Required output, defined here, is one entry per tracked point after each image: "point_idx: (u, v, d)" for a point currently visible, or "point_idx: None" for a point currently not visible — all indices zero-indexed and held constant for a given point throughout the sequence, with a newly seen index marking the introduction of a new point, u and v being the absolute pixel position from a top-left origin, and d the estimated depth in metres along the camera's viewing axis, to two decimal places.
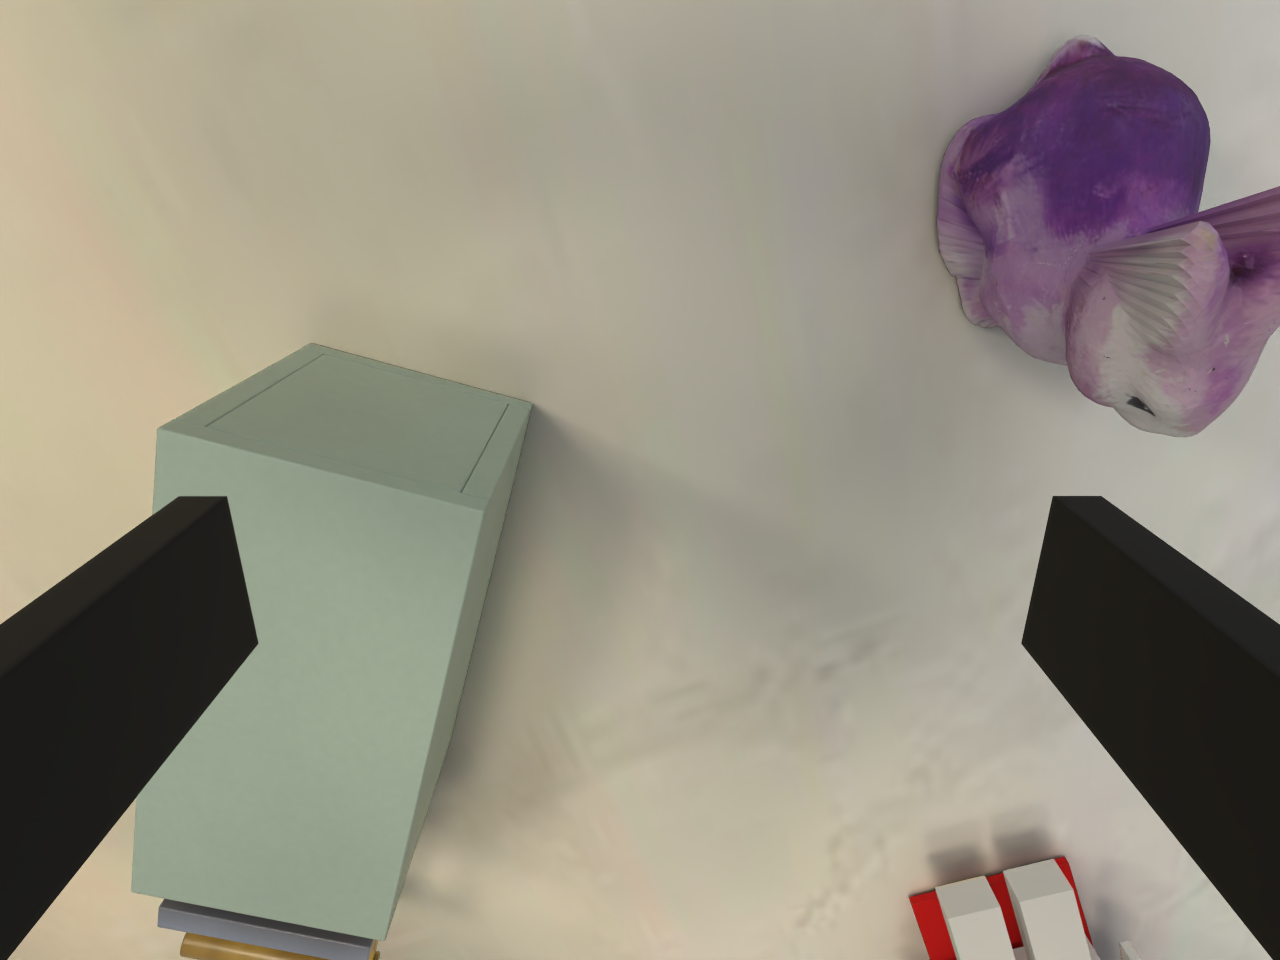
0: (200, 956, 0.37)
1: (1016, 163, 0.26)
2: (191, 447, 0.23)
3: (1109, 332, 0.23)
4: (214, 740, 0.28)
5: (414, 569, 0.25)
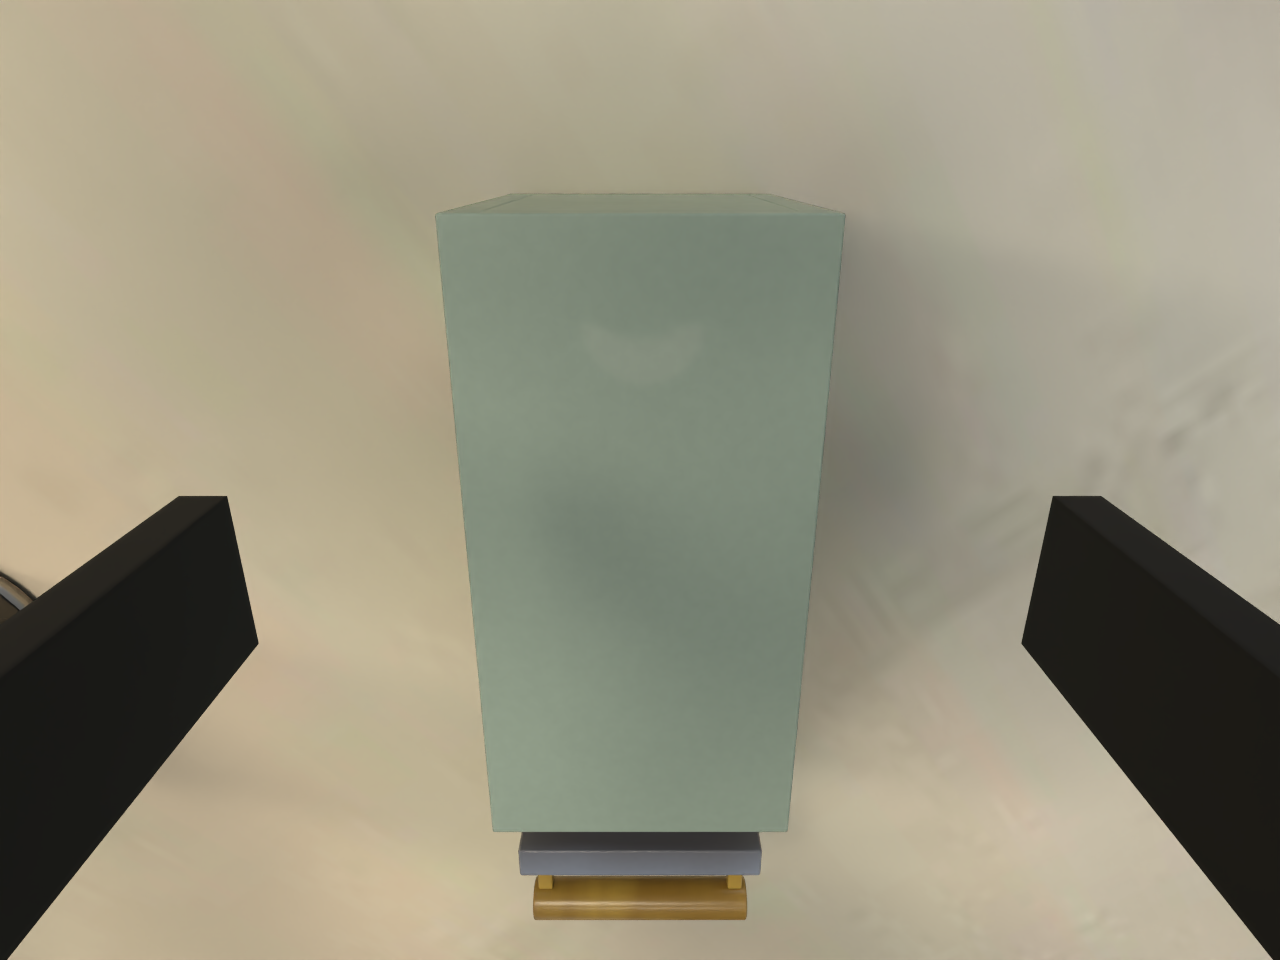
0: (556, 915, 0.33)
1: None
2: (479, 227, 0.19)
3: None
4: (559, 617, 0.23)
5: (767, 321, 0.20)
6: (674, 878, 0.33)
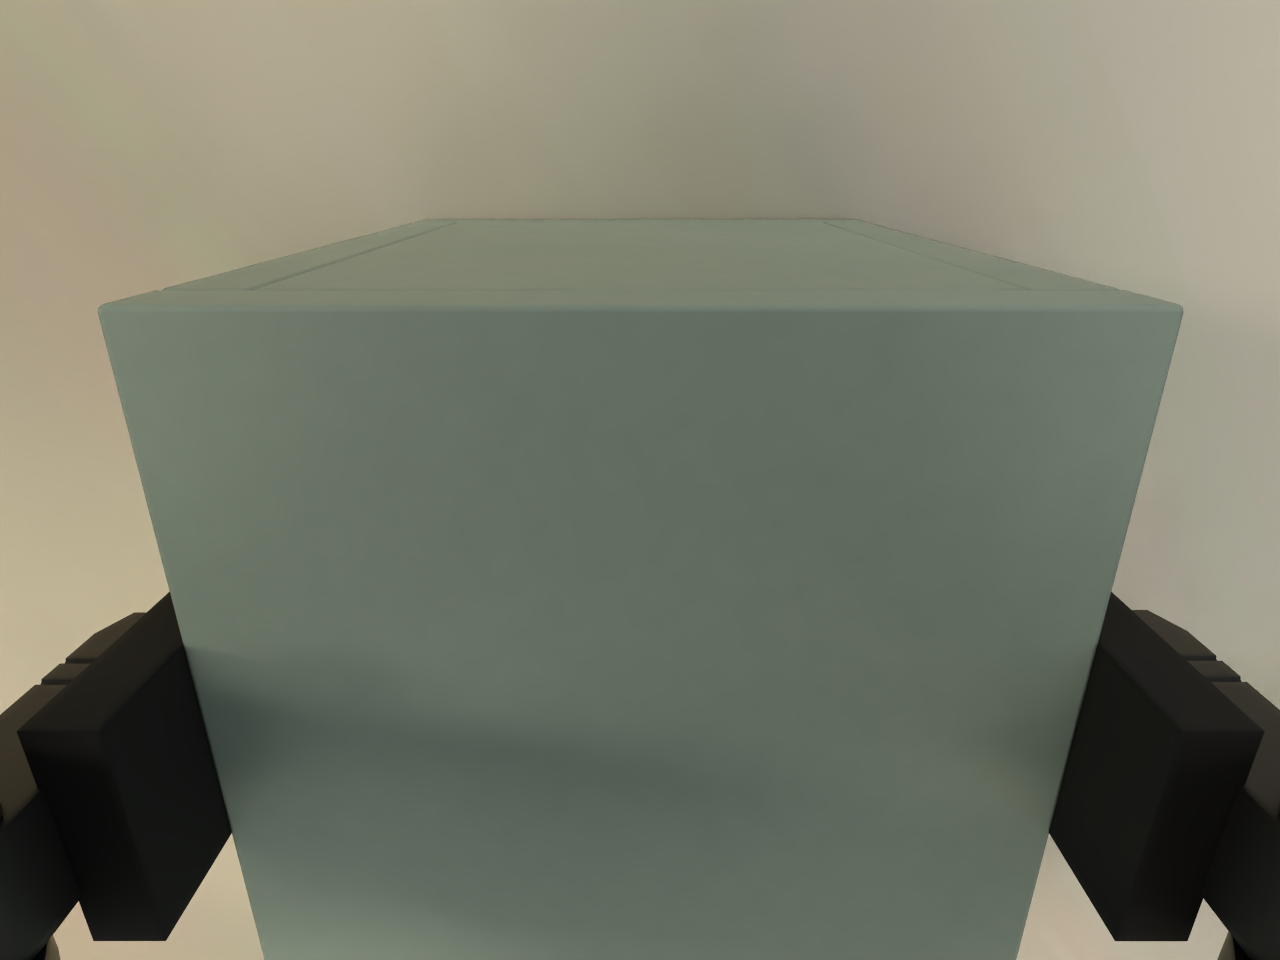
0: None
1: None
2: (215, 342, 0.07)
3: None
4: None
5: (953, 558, 0.08)
6: None
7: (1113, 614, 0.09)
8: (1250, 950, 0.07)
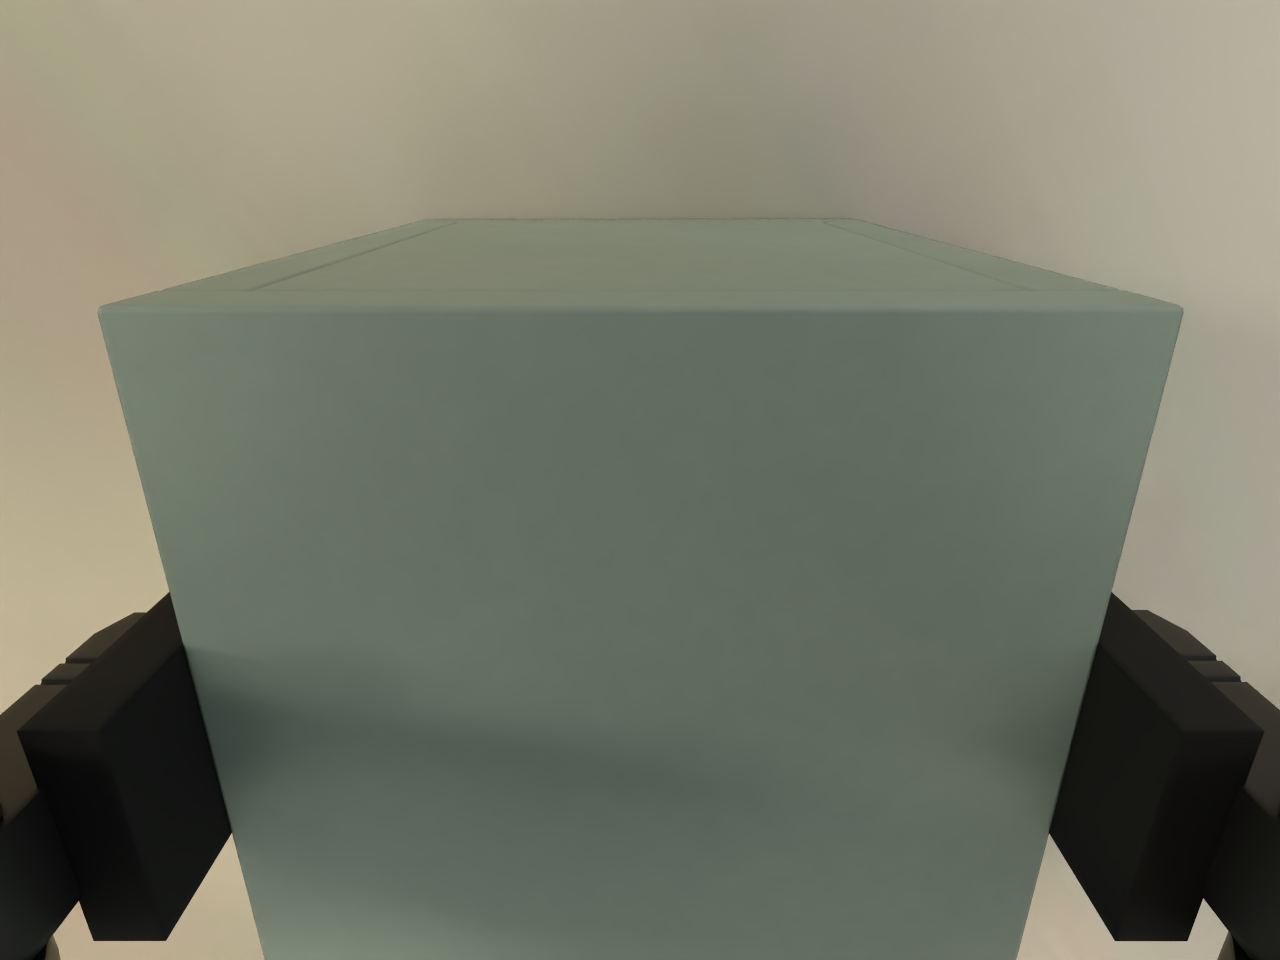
0: None
1: None
2: (215, 343, 0.07)
3: None
4: None
5: (952, 559, 0.08)
6: None
7: (1113, 614, 0.09)
8: (1251, 950, 0.07)
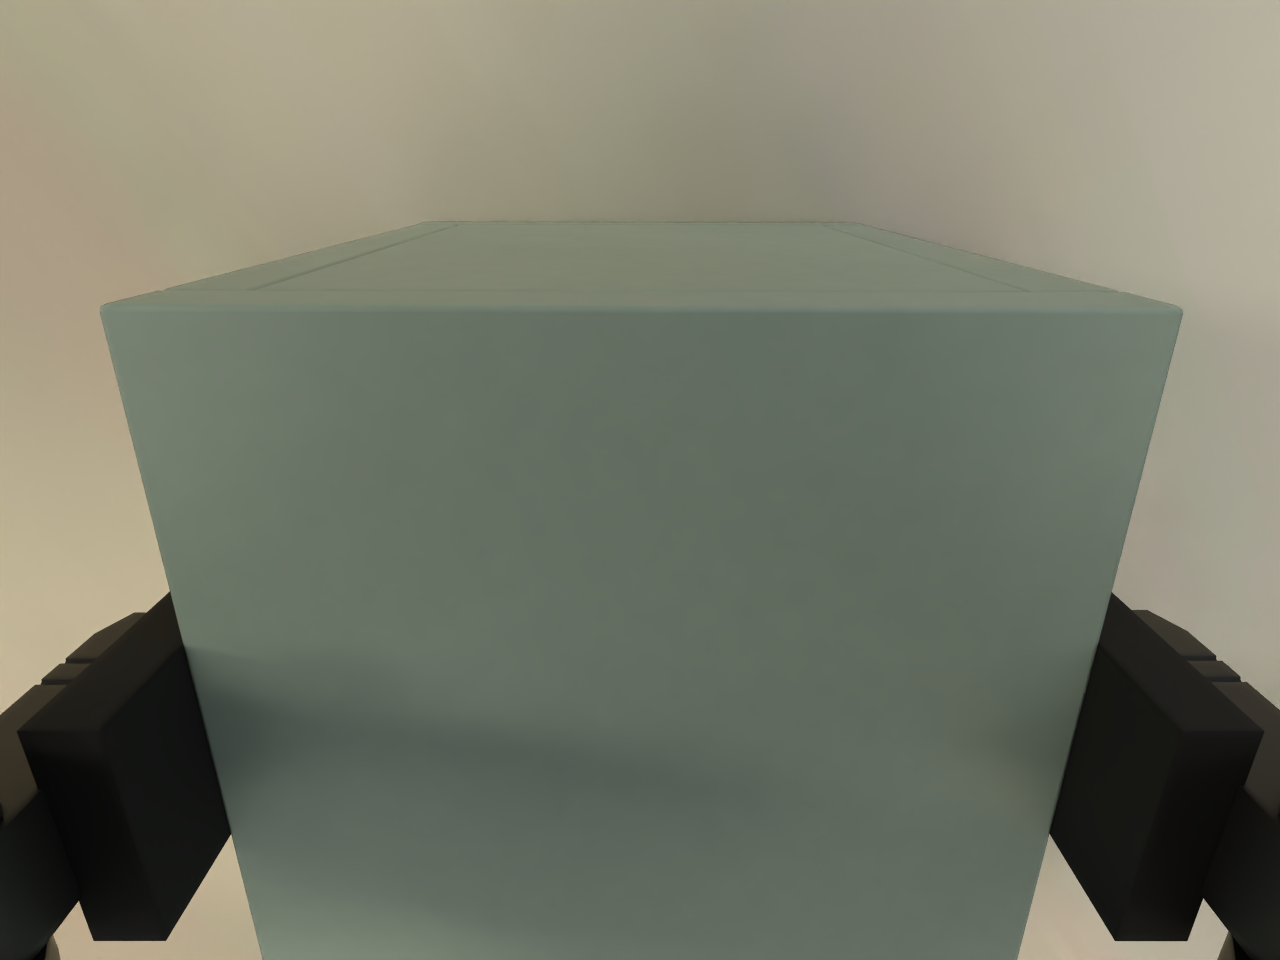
0: None
1: None
2: (217, 342, 0.07)
3: None
4: None
5: (953, 560, 0.08)
6: None
7: (1113, 614, 0.09)
8: (1250, 950, 0.07)
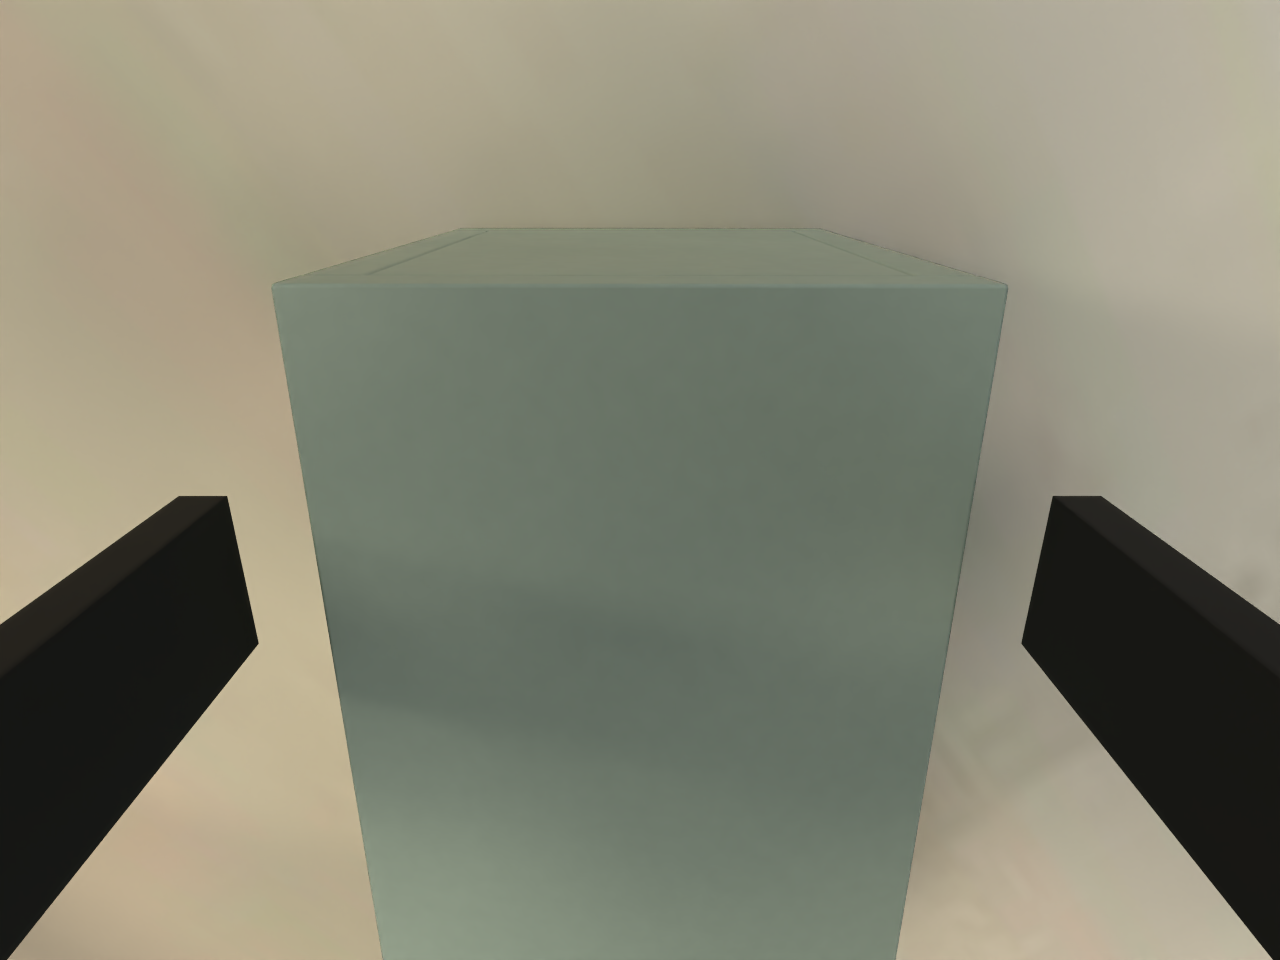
0: None
1: None
2: (350, 309, 0.11)
3: None
4: (510, 906, 0.15)
5: (860, 465, 0.11)
6: None
7: None
8: None
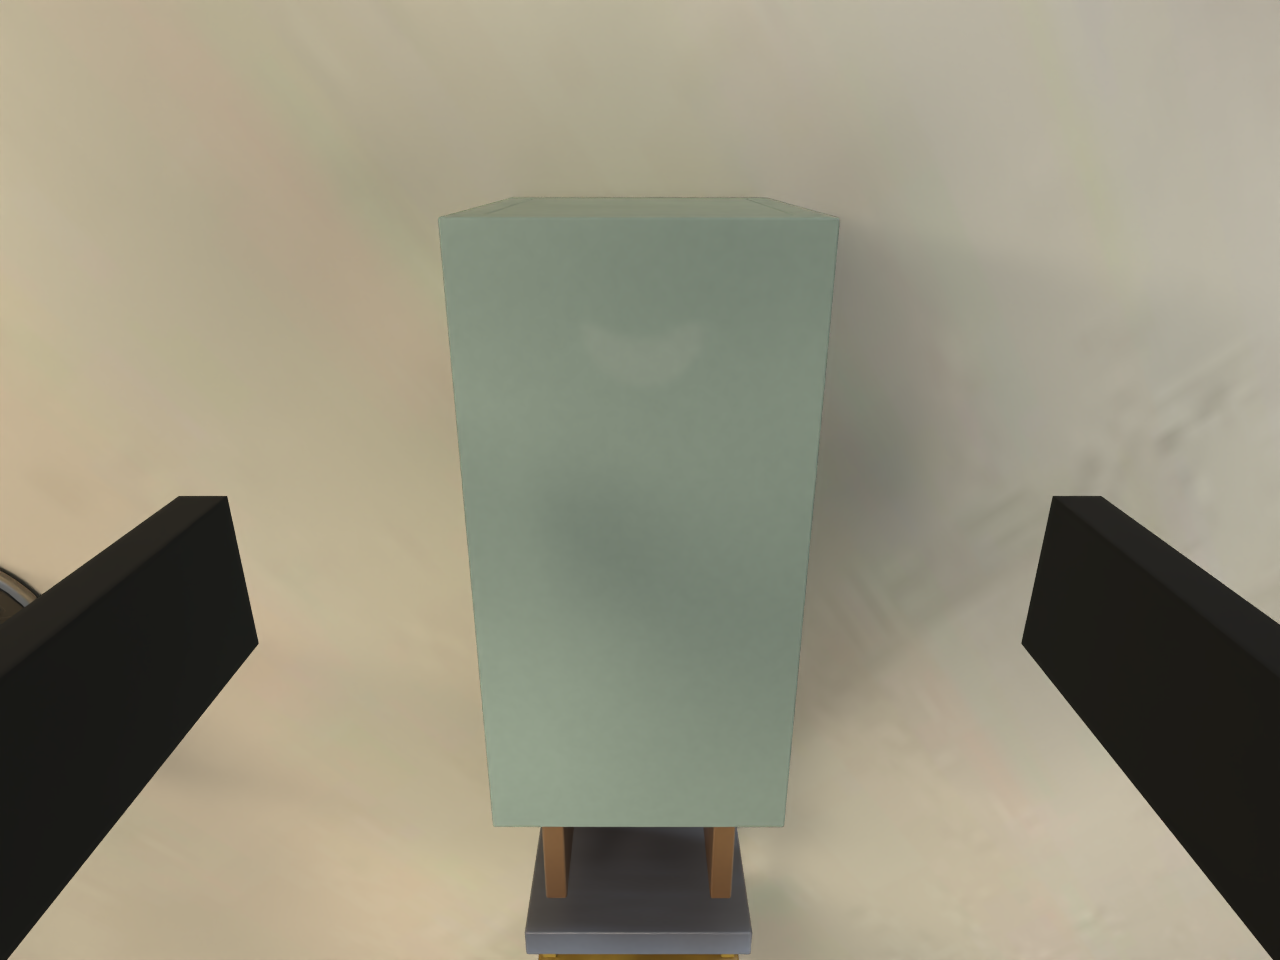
0: None
1: None
2: (480, 231, 0.19)
3: None
4: (558, 614, 0.23)
5: (763, 322, 0.20)
6: None
7: None
8: None
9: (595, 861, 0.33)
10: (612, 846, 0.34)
